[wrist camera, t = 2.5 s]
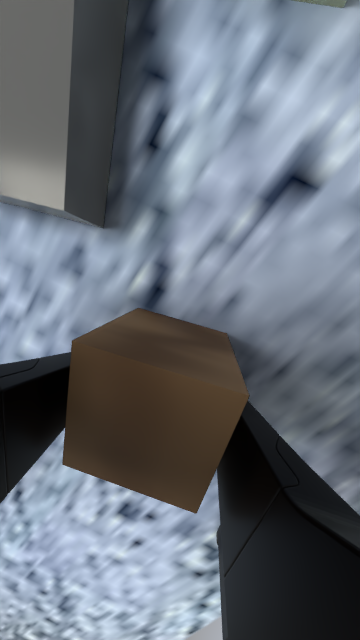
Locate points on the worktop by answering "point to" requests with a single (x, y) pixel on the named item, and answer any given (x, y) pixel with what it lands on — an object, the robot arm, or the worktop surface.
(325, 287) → the worktop surface
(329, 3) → the sage block
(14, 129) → the block
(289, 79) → the worktop surface
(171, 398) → the walnut block
